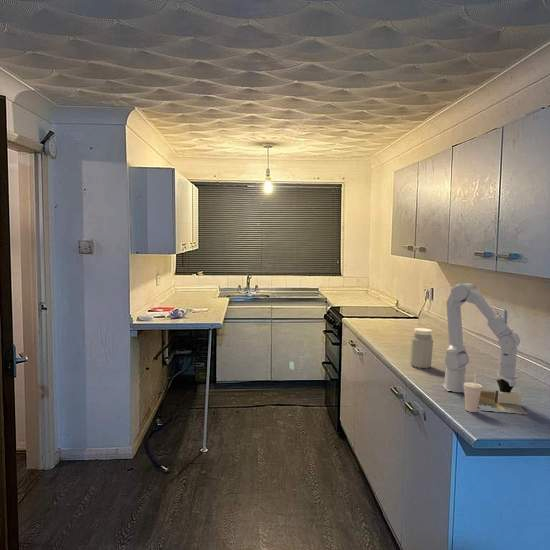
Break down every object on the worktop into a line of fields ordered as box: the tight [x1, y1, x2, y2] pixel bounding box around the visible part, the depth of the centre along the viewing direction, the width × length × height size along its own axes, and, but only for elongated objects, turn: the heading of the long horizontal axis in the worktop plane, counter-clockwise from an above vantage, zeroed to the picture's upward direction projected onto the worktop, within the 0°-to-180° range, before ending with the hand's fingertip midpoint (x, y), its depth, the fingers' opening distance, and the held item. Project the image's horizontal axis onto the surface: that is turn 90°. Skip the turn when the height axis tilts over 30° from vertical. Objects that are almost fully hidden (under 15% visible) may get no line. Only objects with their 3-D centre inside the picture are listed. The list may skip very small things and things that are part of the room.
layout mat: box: [477, 399, 528, 415], centre depth 187 cm, size 16×16×1 cm
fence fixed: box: [479, 390, 499, 403], centre depth 189 cm, size 1×10×5 cm, turn 83°
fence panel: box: [498, 391, 522, 406], centre depth 188 cm, size 8×1×4 cm, turn 83°
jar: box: [409, 327, 434, 369], centre depth 238 cm, size 10×10×18 cm
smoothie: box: [464, 372, 483, 413], centre depth 179 cm, size 6×6×14 cm
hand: (504, 399), depth 190 cm, fingers closed
